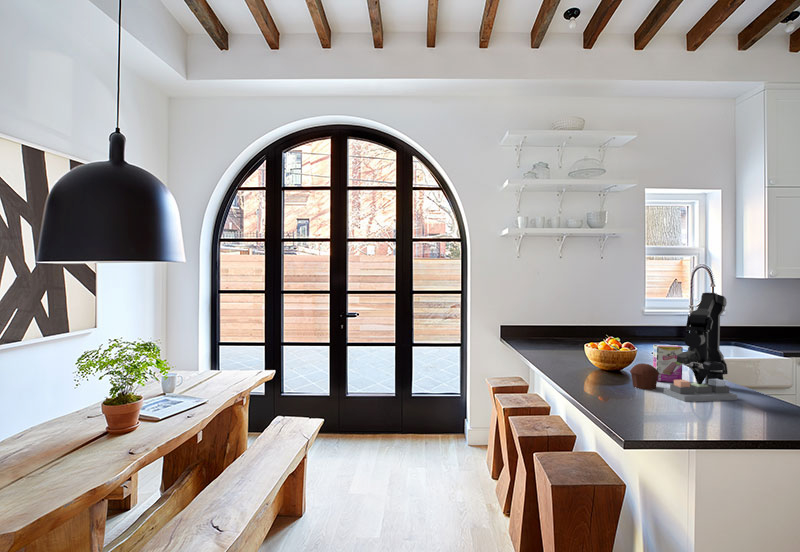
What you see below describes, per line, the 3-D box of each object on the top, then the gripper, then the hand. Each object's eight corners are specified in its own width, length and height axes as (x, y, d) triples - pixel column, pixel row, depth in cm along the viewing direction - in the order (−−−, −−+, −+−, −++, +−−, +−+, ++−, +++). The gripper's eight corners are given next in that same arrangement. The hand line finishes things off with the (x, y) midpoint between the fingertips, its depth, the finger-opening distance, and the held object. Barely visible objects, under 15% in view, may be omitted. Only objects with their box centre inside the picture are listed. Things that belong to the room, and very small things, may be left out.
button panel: (663, 393, 190) (663, 382, 190) (713, 392, 192) (713, 381, 192) (684, 401, 178) (684, 389, 178) (737, 399, 180) (737, 388, 180)
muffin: (663, 391, 194) (663, 367, 194) (634, 390, 196) (634, 366, 196) (653, 384, 206) (653, 362, 206) (626, 383, 208) (626, 361, 208)
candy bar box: (657, 382, 211) (657, 346, 211) (652, 379, 216) (652, 344, 216) (683, 382, 210) (683, 346, 210) (677, 380, 215) (677, 344, 215)
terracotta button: (673, 387, 186) (673, 379, 186) (683, 387, 187) (683, 379, 187) (680, 389, 182) (680, 382, 182) (690, 389, 183) (690, 381, 183)
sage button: (691, 390, 187) (691, 383, 187) (700, 390, 187) (700, 382, 187) (698, 393, 183) (698, 385, 183) (707, 392, 183) (707, 385, 184)
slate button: (708, 386, 188) (708, 379, 188) (717, 386, 188) (717, 378, 188) (716, 388, 184) (716, 381, 184) (725, 388, 184) (725, 380, 184)
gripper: (664, 342, 194) (664, 379, 194) (698, 349, 175) (698, 390, 175) (689, 341, 195) (689, 378, 195) (725, 348, 176) (725, 389, 176)
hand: (699, 384), depth 185 cm, fingers closed, pressing on sage button
